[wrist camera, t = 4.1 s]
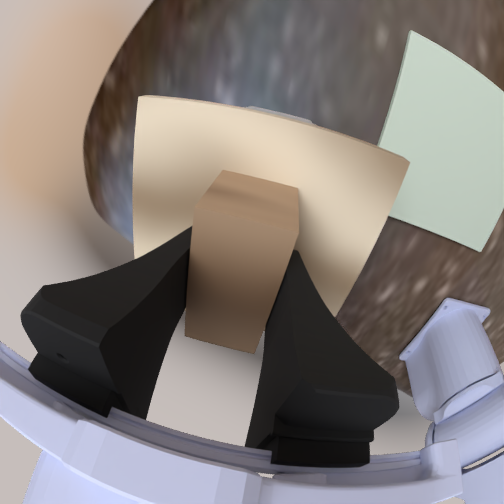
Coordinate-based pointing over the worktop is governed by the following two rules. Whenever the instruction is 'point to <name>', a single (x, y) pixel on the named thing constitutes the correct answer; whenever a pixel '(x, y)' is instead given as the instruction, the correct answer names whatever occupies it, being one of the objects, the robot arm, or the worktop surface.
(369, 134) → the worktop surface
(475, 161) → the mat
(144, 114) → the lid
